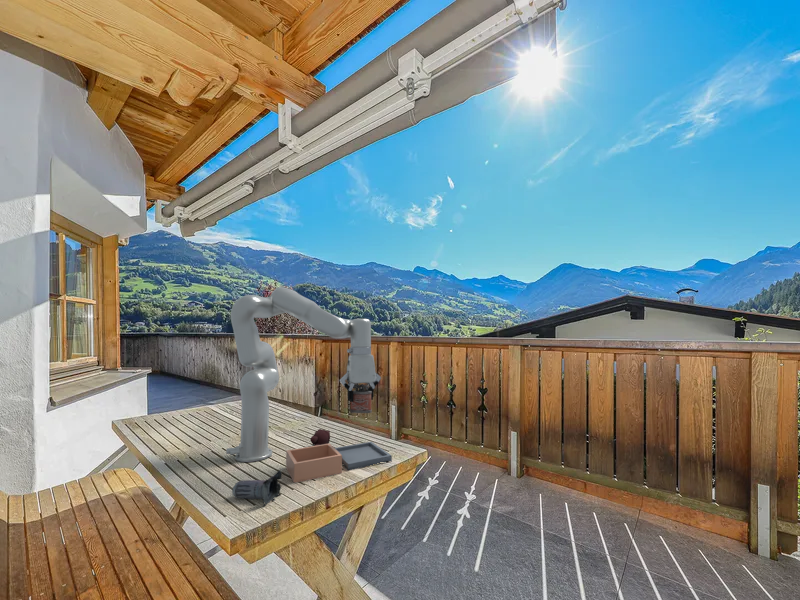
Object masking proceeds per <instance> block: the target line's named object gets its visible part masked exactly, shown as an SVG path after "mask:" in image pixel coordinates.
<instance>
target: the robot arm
mask: <svg viewBox="0 0 800 600" xmlns="http://www.w3.org/2000/svg"><path fill="white" fill-rule="evenodd" d="M286 313H287V314H288V315H290V316H292V317H294V318H295V319H298V320H299V321H301V322H303V323H305V324H306V325H308V326H310V327H311V328H313V329H314V330H317V331H319V332H320V333H322V334H325V335H326V336H328V337H330V338H332V339H346V338H350V347H349V348H347V349H346V352H347V353H348V354H350V355H348V360H347V366H346V373H345V374H344V375H343V376H342V377H341V378H340V379H339V382H340V384H341V385H342V386H343V387H344V388H345V389H346V390H347V400H348V401H349V402H350V403H351V402H353V395H354V392H353V391H354V388H353V386H354V385H358V384H367V385H368V391H372V394H371V401H373V400H374V397H375V393H374V392H375V391H374V390H375V389H376V386H377V385H378V384H379V383H380V381H381V380H382V376H380V375H379V374H378V373H377V372H376V365H375V364H376V363H375V358H374V354H372V338H371V337H372V322H371V320H370V319H368V318H354V319H347V318H342V317H339V316H336V315H334V314H332V313H330V312H328V311H327V310H325V309H323V308H321V307H320V306H319V305H318V304H317V303H316V302H315V301H313V300H311V299H309V298H307V297H305V296H303V295H302V294H300V293H298V292H297V291H296V290H294V289H291V288H289V287H288V288H287V287H284V286H282V287H280V286H279V287H277V288H275V289H274V290H273V291H272V292H271V294H270V295H269V296H267V297H265V296H260V295H256V294H247V295H244V296H241V297H240V298H238V299H237V300H236V301H235V302H234V304H233V305H232V307H231V310H230V320H231V321H230V322H231V326H232V330H233V334H234V335H233V336H234V341H235V345H236V346H235V347H236V350H237V352H236V353H237V356H238V360H239V362H240V364H241V365H242V366H245V367H246V368H249V367H253V369H252V370H250V371H247V372H246V373H245V374H243V376H242V377H241V379H240V383H239V392H240V397H241V399H240V400H241V417H240V418H241V420H240V421H241V423H240V443H239V444H238V445H237V446H236V447H228V448H226V450H225V451H226V455H230V456H232V455H234V456H235V457H234V458H235V460H236V461H237V462H242V463H252V462H258V461H264V460H265V459H268V458H270V457H271V456H272V455H273V450H272V449H271V448H269V430H270V429H269V428H270V427H269V426H270V425H269V422H270V420H269V417H270V401H269V396H268V392H271V391H272V390H274V389H275V388H276V387H277V385H278V384H279V381H280V376H279V375H280V374H279V369H278V365H277V361H276V360H277V359H276V355H275V351H274V349H273V347H272V346H271V344H270V343H268V342H266V341H262V340H261V338H260V334H259V329H258V326H257V323H256V322H255V320H254V319H255V318H258V319H267V318H272V317H275V316H279V315H282V314H286ZM346 381H347V382H348V383H347V382H346Z"/></svg>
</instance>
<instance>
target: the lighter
mask: <svg viewBox="0 0 800 600" xmlns="http://www.w3.org/2000/svg"><path fill="white" fill-rule="evenodd" d="M368 388H369V385H368V384H367V385H366V384H365V383H360V384H354V386H353V389H355V390H352V391H353V392H354V395H353V402H350V410H349V412H350V413H354V414H371V413H372V411H373V410H372V400H371V394H372V391H368Z"/></svg>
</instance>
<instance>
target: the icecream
mask: <svg viewBox="0 0 800 600" xmlns="http://www.w3.org/2000/svg"><path fill="white" fill-rule="evenodd" d="M330 440H331V434H330V430H325V429H322V428H320V429H317V430H316V431H315V432H314V434H313V435H312V436H311V437H310V442H311V444H312V445H313V446H317V445H323V444H329V443H330Z"/></svg>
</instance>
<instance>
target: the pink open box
mask: <svg viewBox="0 0 800 600" xmlns="http://www.w3.org/2000/svg"><path fill="white" fill-rule="evenodd" d="M335 448H336V447H334V446H333V445H332V444H331V443H330V442H329V443H328V444H323V445H317V446H315V445H313V446H305V447H300V448H298V447H297V448H293V449H288V450H286V452H285V459H286V460H285V468H286V470H287V473H288V474H289V476H290V477H291V479H292V482H293V483H294V484H296V483H300V482H307V481H311V480H315V479H319V478H325V477H329V476H334V474H335V475H339V474H342V473H343V465H342V455H341V454H340V453H339V452H338V451H337V450H336V449H335Z"/></svg>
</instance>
